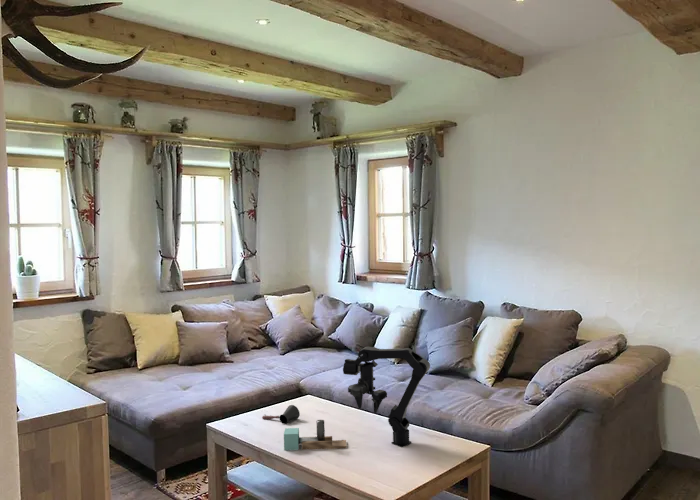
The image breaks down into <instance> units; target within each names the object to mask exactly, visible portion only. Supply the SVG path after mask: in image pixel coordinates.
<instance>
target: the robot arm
mask: <svg viewBox="0 0 700 500" xmlns="http://www.w3.org/2000/svg"><path fill="white" fill-rule="evenodd" d="M357 355H358V356H357V358H356V359H350V358H346V359H345V360H344V363H343V367H342V373H343V375H346V376H347V375H349V376H358V375H360V377H359V378H358V379H357V383H354V384H350V385H349V386H348V387H347V393H349V394H350V395H351V396H353V397H354V399H355V403H356V405H357V407H358V409H359V410H360V409H362V405H363V397H364V395H366V394H367V395H371V398H372V399H371V401H372V403H373V413H374V414H377V412H378V410H379V408H380V405H381V404H382V401H383V400H384V399H386V398H387V397H388V391H386V390H383V389H377V390H376V386H375V385H374V381H376V377H374V368H376V367H377V366H378V365H379V363H377V362H376V360H382V359H383V360H386V359H388V360H389V359H390V360H391V359H392V360H393V359H404V360H405V361H406V362H407V364H408V365H409V367H411V368H412V370H411V371H412V372H411V376H410V377H411V378H410V381H409V382H408V384H407V387H406V388H405V390H404V393H403V394H402V397H401V399H400V401H399V402H398V403H399V404H397V405H396V404H394V405H393V406H392V408H391V410H390V412H389V413H388V416H387V417H388V419H387V422H388V424H389V426H390V427H391V429H392V441H391V444H392V445H395V446H398V447H401V448H404V447H406V446H408V445H410V444H412V441H410V430H409V429H408V428H409V426H410V424H411V422H410V421H409V420H408V418H406V416H407V410H408V407H409V405H410V403H411V402H412V401H411V400H412V399H413V396H414V394H415V392H416V391H417V388H418V387H419V385H420V382H421V381H422V380H423V378H424V377H425V376H426V374H427V373H428V371H429V370H430V368H431V364H430V361H429V360H427V359H425V358H423V357H422V356H421V355H420V354H418V353H416V351H414V350H413V349H411V348H409V347H406V348H378V347H373V346H368V345H367V346H365V347H364V348H361V349H360V350H359V351H358V354H357Z"/></svg>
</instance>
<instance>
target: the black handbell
mask: <svg viewBox="0 0 700 500" xmlns="http://www.w3.org/2000/svg"><path fill="white" fill-rule="evenodd" d="M300 414H301V413H300V410H299V408H298V407H297V406H295V405H294V404H291V405H288V406H287V408H285V411H284V412H283V414H279V415H262V417H261V418H262V420H273V419H279V421H280V423H281V424H284V425H287V424H288V422H291V421H296V420H297V419H299V418H300Z"/></svg>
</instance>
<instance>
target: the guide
mask: <svg viewBox="0 0 700 500" xmlns="http://www.w3.org/2000/svg"><path fill="white" fill-rule="evenodd" d="M332 449H333V450H334V449H335V450H336V449H337V450H339V449H347V440H346V439H341V440H340V439H338V440H337V439H335V440H334V439H333V436H332V435H330V436H326V435H325V441H305V442H302V444H301V451H305V450H332Z"/></svg>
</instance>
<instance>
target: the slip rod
mask: <svg viewBox="0 0 700 500" xmlns="http://www.w3.org/2000/svg"><path fill="white" fill-rule="evenodd" d="M325 432H326V431H325V420H324V419H317V420H316V436H302V437H300V436H299V437H298V444H299V445H302V442H305V441H325V436H326V435H325Z"/></svg>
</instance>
